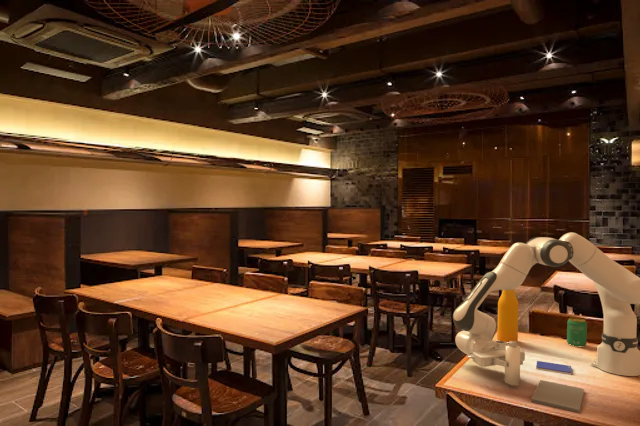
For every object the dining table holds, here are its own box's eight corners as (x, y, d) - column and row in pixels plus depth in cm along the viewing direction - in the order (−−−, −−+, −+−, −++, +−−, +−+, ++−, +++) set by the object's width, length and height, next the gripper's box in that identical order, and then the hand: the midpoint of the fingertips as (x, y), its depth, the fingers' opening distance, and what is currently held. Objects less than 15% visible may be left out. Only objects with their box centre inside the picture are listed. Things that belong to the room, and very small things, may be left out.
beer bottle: (516, 344, 214) (517, 283, 213) (495, 341, 219) (496, 281, 218) (519, 340, 222) (520, 280, 221) (499, 336, 227) (500, 278, 226)
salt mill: (506, 378, 167) (507, 339, 167) (521, 381, 165) (521, 341, 164) (503, 383, 163) (504, 342, 163) (518, 386, 160) (519, 345, 160)
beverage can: (587, 344, 216) (588, 319, 216) (584, 348, 210) (584, 322, 210) (569, 341, 221) (569, 316, 221) (564, 344, 215) (565, 319, 215)
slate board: (540, 382, 169) (540, 379, 169) (584, 391, 161) (584, 388, 161) (531, 401, 152) (531, 398, 152) (579, 413, 144) (579, 409, 144)
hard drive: (571, 365, 184) (537, 360, 190) (571, 371, 177) (536, 366, 183) (570, 369, 184) (536, 364, 190) (571, 375, 177) (536, 370, 183)
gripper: (465, 346, 172) (491, 358, 159) (508, 340, 179) (536, 351, 166) (465, 363, 172) (490, 376, 159) (508, 356, 179) (536, 369, 166)
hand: (514, 363), depth 163 cm, fingers closed on salt mill, 5 cm apart
